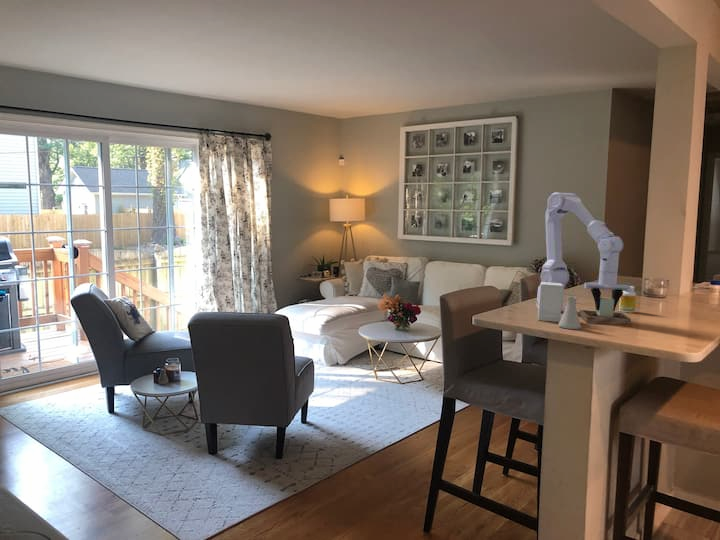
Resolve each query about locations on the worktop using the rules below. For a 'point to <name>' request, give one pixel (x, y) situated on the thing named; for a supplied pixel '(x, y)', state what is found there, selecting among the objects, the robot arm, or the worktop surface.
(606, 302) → the sage block
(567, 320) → the flask
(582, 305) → the worktop surface
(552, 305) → the supplement box
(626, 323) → the tray
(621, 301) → the supplement bottle
